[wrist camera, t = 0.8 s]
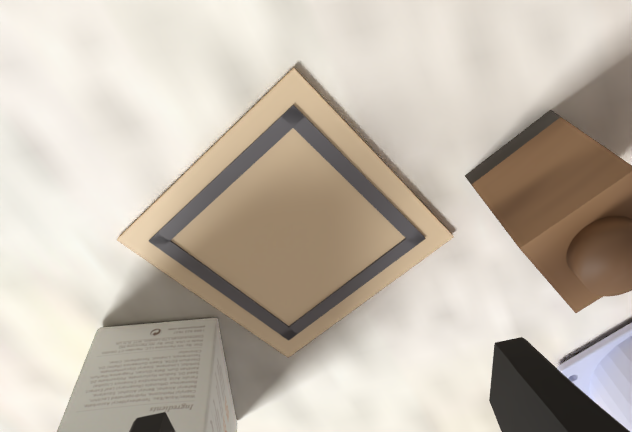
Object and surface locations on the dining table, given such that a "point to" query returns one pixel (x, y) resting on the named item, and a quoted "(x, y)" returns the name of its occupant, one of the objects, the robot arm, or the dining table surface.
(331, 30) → the dining table surface
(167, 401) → the small box
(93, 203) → the dining table surface
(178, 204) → the card sheet
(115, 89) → the dining table surface
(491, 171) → the stamp
